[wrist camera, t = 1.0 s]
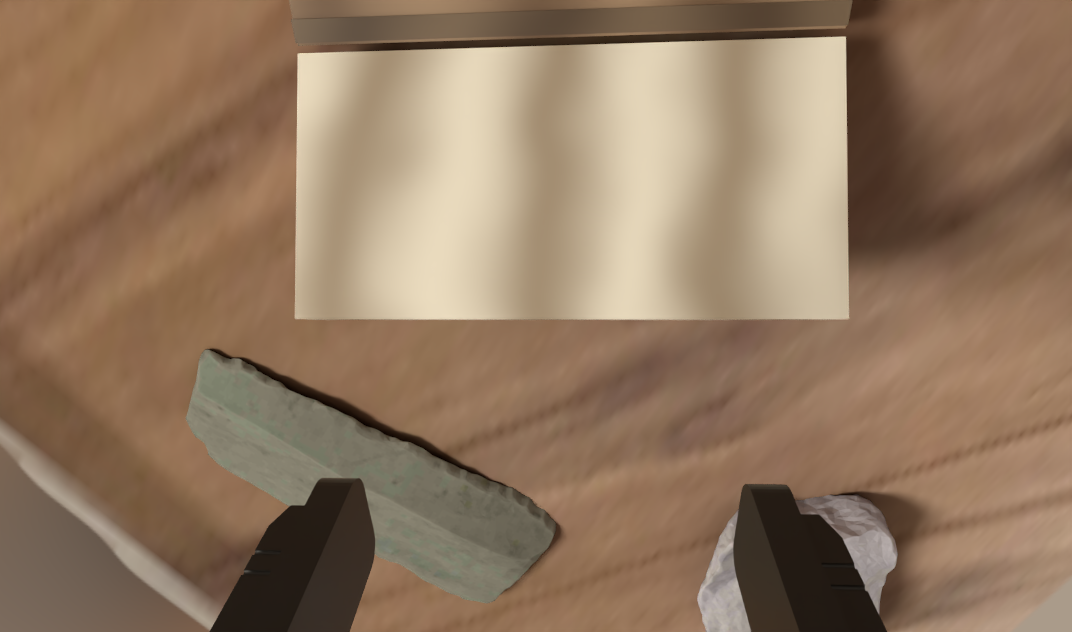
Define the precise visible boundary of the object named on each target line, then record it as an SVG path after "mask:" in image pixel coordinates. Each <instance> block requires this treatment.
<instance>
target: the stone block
mask: <svg viewBox="0 0 1072 632" xmlns="http://www.w3.org/2000/svg"><path fill="white" fill-rule="evenodd" d="M795 502H796V504H797V506H798V509H799V511H800V513H801V514H819V515H820V516H821V517H822V518H823V519H824V520H825V521H826V522H827V523H828V524H829V525H830V526H831V527H832V528H833V529H834V530H835V531H836V532H837V533H838V534H839V535H840V536H841V537H842V538H843V540H844V543H845V545H846V547H847V549H848V551H849V553H850V555H851V557H852V559H853V561H854V566H855V569H857V570H858V572H859V574H860V576H861V578H862V580H863V582H864V584H865V590H866V591H868V593H869V595H870V597H871V599H872V601H873V603H874V605H875V608H876V610H877V612H878V614H879V613H880V597H881V591H882V587H883V586H884V584H885V582H886V576H887V574H888V573H889V572H890V571H891V570H893V569H894V568H895V566H896V561H897V555H898V553H897V548H896V543H895V539H894V538H893V536H892V535H891V533H890V531H889V528H888V527H887V525H886V520H885V517H884V515H883V514H882V512H881V511H880V510H879V509H878V508H877V507H876V506H875V505H874V504H873V503H872V502H871V501H870V500H867V499H865V498H863V497H861V496H859V495H848V496H846V495H840V496H834V495H828V496H824V497H815V498H809V499H806V500H800V501H795ZM738 511H739V509H738V510H737V512H736V513H735V514H734V516H733V517H732V518H731V519H730V520H729V522H728V523H727V526H726V528H725V529H724V531H723V532H722V534H721V535H720V537H719V541H718V544H717V546H716V549H715V551H714V556H713V559H712V560H711V561H710V564H709V568H708V571H707V573H706V578H705V579H704V581H703V583H702V584H701V588H700V590H699V594H698V599H697V600H698V604H699V607H700V610H701V613H702V615H703V616H702V619H703V623H704V625H705V627H706V632H751V629H750V625H749V622H748V618H747V614H746V611H745V607H744V603H743V599H742V596H741V592H740V588H739V585H738V581H737V577H736V573H735V567H734V557H733V543H734V536H735V529H736V523H737V517H738Z"/></svg>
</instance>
